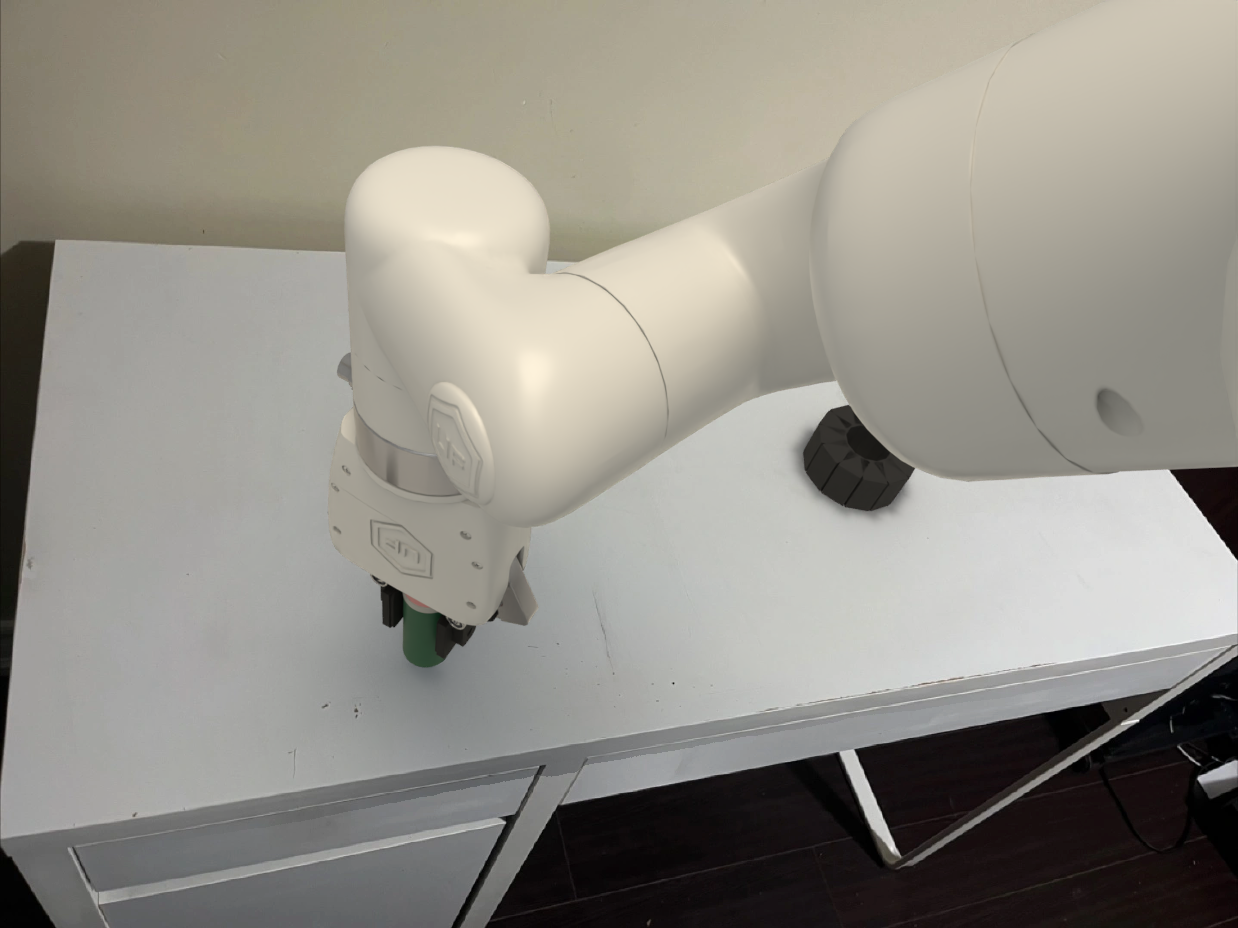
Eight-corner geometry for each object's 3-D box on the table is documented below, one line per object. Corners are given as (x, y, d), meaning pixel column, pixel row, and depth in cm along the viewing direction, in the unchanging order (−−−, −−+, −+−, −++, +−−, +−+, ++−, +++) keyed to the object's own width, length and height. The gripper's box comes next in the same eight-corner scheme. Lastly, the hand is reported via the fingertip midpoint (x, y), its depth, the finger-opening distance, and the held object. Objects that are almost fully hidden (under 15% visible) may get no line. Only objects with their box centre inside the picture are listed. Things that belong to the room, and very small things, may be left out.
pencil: (457, 659, 55) (465, 588, 49) (410, 675, 54) (412, 604, 48) (441, 619, 57) (447, 546, 51) (395, 634, 55) (395, 560, 49)
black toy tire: (916, 497, 78) (937, 469, 75) (840, 521, 74) (859, 493, 71) (859, 426, 83) (876, 397, 80) (784, 445, 79) (800, 416, 76)
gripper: (236, 389, 39) (277, 605, 52) (553, 560, 36) (510, 740, 49) (344, 306, 43) (356, 523, 57) (630, 450, 41) (572, 642, 54)
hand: (428, 622), depth 53 cm, fingers closed on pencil, 3 cm apart
